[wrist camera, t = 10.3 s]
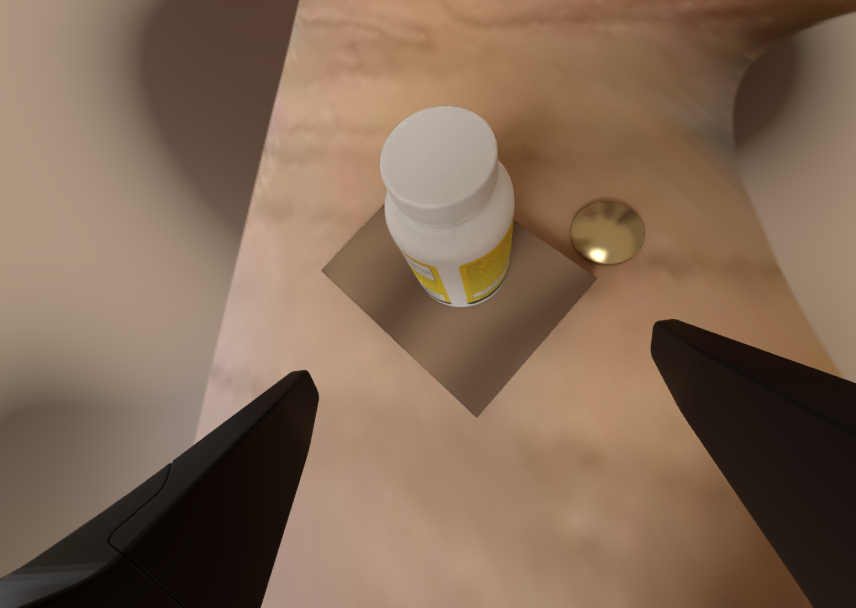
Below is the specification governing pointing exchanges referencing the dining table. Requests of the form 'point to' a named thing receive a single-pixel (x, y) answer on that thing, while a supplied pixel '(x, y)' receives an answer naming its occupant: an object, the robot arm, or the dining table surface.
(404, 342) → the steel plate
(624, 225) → the gold metal disc
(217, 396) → the dining table surface
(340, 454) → the dining table surface
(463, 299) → the supplement bottle
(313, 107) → the dining table surface
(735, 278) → the dining table surface
